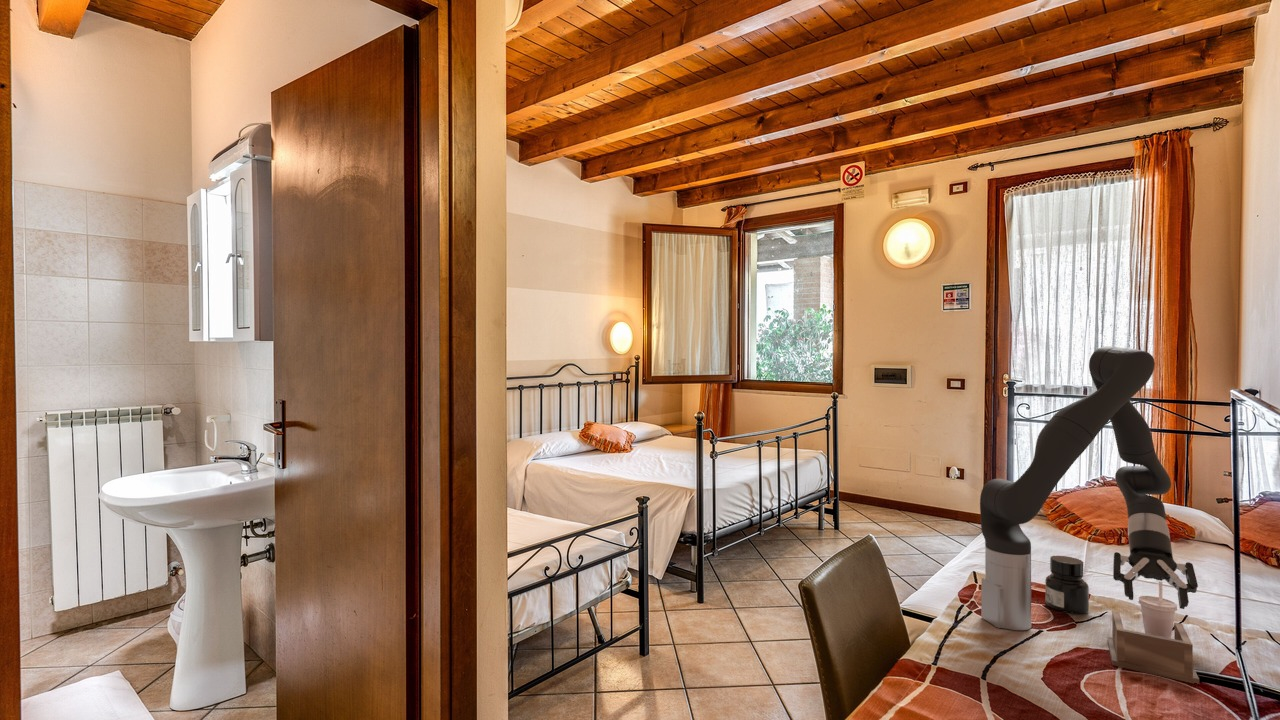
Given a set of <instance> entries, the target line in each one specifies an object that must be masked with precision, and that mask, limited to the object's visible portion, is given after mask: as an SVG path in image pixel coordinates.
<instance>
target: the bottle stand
mask: <svg viewBox="0 0 1280 720" xmlns="http://www.w3.org/2000/svg"><path fill="white" fill-rule="evenodd" d="M1111 612H1112V613H1111V620H1112V621H1111V624H1112V625H1111V626H1112V629H1111V633H1112V634H1111V635H1112V636H1107V646H1108V650H1109V655H1110V659H1111V660H1110V661H1111V666H1114V667H1119V668H1124V669H1128V670H1133V671H1136V672H1142V673H1146V674H1150V675H1154V676H1159V677H1164V678H1168V679H1172V680H1177V681H1182V682H1186V683H1191V684H1194V683H1197V684H1196V685H1198V684H1199V685H1200V677H1199V676H1198V674H1197V671H1196V669H1195V667H1194V662H1193V661H1194V658H1193V657H1194V656H1193V653H1194V650H1193V649H1194V647H1193V643H1192V641H1191V639H1190V637H1189V635H1188V633H1187V631H1186V628H1185V627H1184V625H1183V624H1182V623H1180V622H1179V623H1178V622H1173V628H1174V634H1173V635H1174V638H1172V637H1171V638H1166V637H1161V636H1156V635H1150V634H1145V632H1139V631H1136V630H1135V631H1133V630H1129V629H1125V628H1124V624H1123V621H1122V617H1121V614H1120V612H1119V611H1114V610H1113V611H1111Z"/></svg>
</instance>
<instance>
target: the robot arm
mask: <svg viewBox="0 0 1280 720" xmlns="http://www.w3.org/2000/svg"><path fill="white" fill-rule="evenodd" d="M1155 364H1156V363H1155V358H1154V357H1153V355H1152V354H1151V353H1149V352H1148V351H1145V350H1141V349H1137V348H1128V347H1120V346H1108V345H1107V346H1101V347H1098V348H1097V349H1095V351H1093V353H1092V354H1091V356H1090V358H1089V362H1088V368H1089V369H1088V370H1089V374H1090V376H1091V379H1092V381H1093V384H1094V386H1095V389H1096V390H1095V391H1094V392H1092V393H1091V394H1089V395H1087V396H1084V397H1083V398H1081V399H1079V400H1076V401H1074V402H1072V403H1070V404H1067V405H1066V406H1064V407H1063V408H1061V409H1060V410H1057V412H1055V414H1053V416H1052V417H1051V418H1050V420H1048V422H1047V423H1046V424H1045V425H1044V426H1043V427H1042V429H1041V430H1040V432H1039V433H1038V435H1037V440H1036V441H1035V448H1034V456H1033V459H1032V461H1031V463H1030V465H1029V466H1028V468H1027V469H1026V470H1025V472H1024V473H1022V475H1021V476H1020V477H1019V478H1018V479H1017V480H1016V481H1012V480H1009V479H1003V478H993V479H990V480H988V481H987V482H986V483H985V484H984V485H983V487H982V489H981V491H980V495H979V497H980V498H979V511H980V528H981V533H982V536H983V539H984V543H985V544H984V548H985V549H984V550H985V551H984V553H985V557H984V558H985V559H984V565H985V567H984V568H985V570H984V571H985V574H984V575H985V577H982V578H981V580H980V582H981V583H980V584H981V585H980V586H981V587H980V588H981V590H980V591H981V592H980V593H981V594H980V595H981V597H980V598H981V602H980V603H981V610H980V611H981V612H980V614H981V616H980V617H981V619H983V620H985V621H987V622H989V624H991V625H992V626H994V627H996V628H998V629H1006V630H1011V631H1012V630H1013V631H1026V630H1027V631H1028V630H1030V629H1031V628H1032V543H1031V540H1030V539H1029V537H1028V536H1027V535H1026V534H1025V533H1024V531H1023V529H1022V528H1021V525H1023V524H1026V523H1028V522H1030V521H1032V519H1034V518H1035V517H1036V516H1037V515H1038V513H1039V512H1040V511H1041V510H1042V508H1043V506H1044V504H1045V503H1046V501H1047V500H1048V499H1049V496H1050V495H1051V494H1052V492H1053V491H1054V489H1055V488H1056V486H1057V484H1058V483H1059V482H1060V481H1061V479H1062V478H1063V477H1064V476H1065V475H1066V473H1067V472H1068V470H1070V468H1071V467H1072V466H1073V464H1074V463H1075V462H1076V460H1078V459H1079V457H1080V456H1081V455H1082V454H1083V453H1084V452H1085V450H1086V449H1088V447H1089V446H1090V445H1091V443H1093V441H1094V440H1095V438H1096V437H1097V436H1098V434H1099V433H1100V432H1101V431H1102V429H1103V428H1104V427H1105V426H1106V425H1107V424H1108V423H1109V421H1110V423H1111V426H1112V430H1113V433H1114V438H1115V443H1116V447H1117V451H1118V456H1119V458H1120V459H1121V460H1122V461H1123V462H1126V463H1129V464H1134V465H1135V466H1131V465H1129V466H1128V465H1126V466H1121V467H1119V468H1118V469H1117V470H1116V471H1115V476H1114V477H1115V478H1114V480H1115V483H1116V485H1117V487H1118V489H1119V490H1120V493H1121V494H1122V496H1123V498H1124V500H1125V505H1126V509H1127V519H1128V520H1127V522H1128V523H1127V537H1128V544H1129V545H1128V546H1129V556H1128V555H1122V554H1121V553H1120V552H1117V551H1116V552H1114V553H1113V569H1112V570H1113V571H1112V572H1113V573H1112V574H1113V575H1112V576H1113V580H1114V581H1119V582H1121V583H1122V584H1123V589H1124V590H1123V591H1124V595H1125V597H1127V598H1128V600H1129V601H1134V586H1133V582H1134V581H1136V580H1138V579H1139V578H1140V577H1141V576H1142V577H1143V578H1144V579H1151V580H1152V579H1154V580H1156V581H1160V582H1162V581H1164V580H1165V582H1167V584H1169V585H1170V586H1171V587H1173V588H1174V589H1175V590H1176V591H1177V600H1178V606H1179V609H1181V610H1185V608H1187V607H1188V606H1189V603H1190V602H1189V596H1188V595H1189V594H1188V593H1192V594H1194V593H1197V591H1198V590H1197V589H1198V587H1199V585H1198V579H1197V576H1196V572H1195V569H1194V564H1193V563H1191V562H1190V561H1187V562H1186V563H1185V564H1184V563H1177V562H1175V560H1174V556H1173V555H1174V554H1173V550H1172V548H1173V547H1172V543H1171V536H1170V529H1169V526H1168V523H1167V517H1166V510H1165V505H1164V502H1163V501H1162V500H1161V499H1159V498H1157V497H1155V495H1157V496H1158V495H1166V494H1167V493H1168V492H1169V491H1170V490H1171V487H1172V481H1171V478H1170V476H1169V473H1168V472H1167V470H1166V469H1165V467H1164V465H1162V462H1161V461H1160V460H1159V458H1158V456H1157V453H1156V449H1155V446H1154V445H1155V444H1154V442H1153V441H1154V440H1153V435H1152V431H1151V428H1150V426H1149V425H1148V422H1147V421H1146V420H1145V418H1144V416H1143V414H1141V413H1140V412H1139V410H1138V409H1137V408H1136V407H1135V405H1134V404H1133V403H1132V401H1131V399H1132V398H1133V397H1134V396H1135V395H1136V394H1137V393H1138V392H1139V391H1140V390H1142V388H1143V387H1144V386H1145V385H1146V384H1147V383H1148V382H1149V380H1150V379H1151V377H1152V375H1153V374H1154V371H1155ZM1126 563H1128V564H1129V565H1130V566H1131V567H1132V568H1131V569H1130V570H1129V571H1128V572H1127V573H1125V574H1124V573H1123V572H1121V570H1122V569H1121V568H1122V567H1121V566H1125V564H1126ZM1176 570H1179V571H1180V573H1181V574H1182V575H1184V576H1185V578H1186V583H1185V582H1184V580H1182V579H1180V577H1179V575H1178V574H1177V573H1176Z"/></svg>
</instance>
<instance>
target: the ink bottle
mask: <svg viewBox="0 0 1280 720" xmlns="http://www.w3.org/2000/svg"><path fill="white" fill-rule="evenodd" d="M1049 562H1050V563H1049V564H1050V566H1049V569H1050V574H1049V575H1047V576H1046V577H1045V582H1044V583H1045V591H1044V592H1045V603H1046V605H1047V606H1048V607H1050V608H1051V609H1053V610H1056V611H1059V612H1063V613H1069V614H1076V615H1083V614H1087V613H1089V611H1090V610H1089V609H1090V606H1089V605H1090V602H1089V601H1090V595H1089V594H1090V591H1089V590H1090V589H1089V585H1088V583H1087V582H1086V581H1085V580H1084V579H1083V578H1084V561H1083V560H1081V559H1079V558H1076V557H1072V556H1066V555H1052V556H1050V560H1049Z"/></svg>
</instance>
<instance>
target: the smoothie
mask: <svg viewBox="0 0 1280 720" xmlns="http://www.w3.org/2000/svg"><path fill="white" fill-rule="evenodd" d="M1137 602H1138V604H1139V605H1140V610H1141V611H1140V612H1141V615H1142V624H1143V628H1144V629H1143V630H1144V633H1145V634H1150V635H1156V636H1161V637H1166V638H1171V639H1172V635H1173V634H1172V633H1173V628H1174V623H1175V621H1174V620H1175V616H1176V615H1175V614H1176V612H1177V611H1178V605H1177V603H1175V602H1174V601H1172V600H1169V599H1166V598H1163V582H1162V581H1161V580H1158V596H1152V595H1141V596H1139V597H1138V601H1137Z"/></svg>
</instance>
